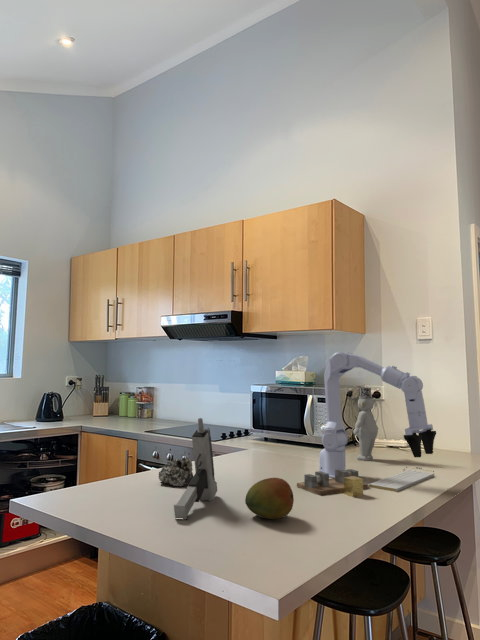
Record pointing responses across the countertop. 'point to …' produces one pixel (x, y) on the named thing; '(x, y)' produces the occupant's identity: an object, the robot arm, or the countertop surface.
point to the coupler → (353, 486)
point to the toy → (366, 425)
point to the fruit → (270, 498)
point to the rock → (177, 472)
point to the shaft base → (327, 489)
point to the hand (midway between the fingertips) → (423, 455)
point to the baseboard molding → (401, 480)
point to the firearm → (199, 473)
